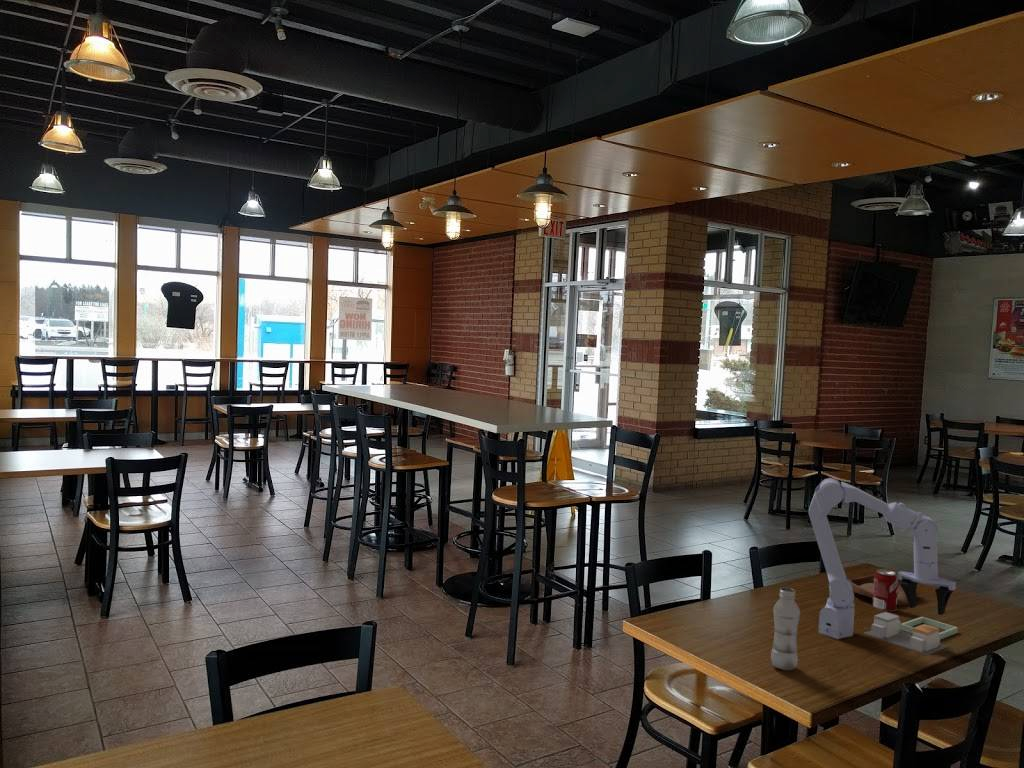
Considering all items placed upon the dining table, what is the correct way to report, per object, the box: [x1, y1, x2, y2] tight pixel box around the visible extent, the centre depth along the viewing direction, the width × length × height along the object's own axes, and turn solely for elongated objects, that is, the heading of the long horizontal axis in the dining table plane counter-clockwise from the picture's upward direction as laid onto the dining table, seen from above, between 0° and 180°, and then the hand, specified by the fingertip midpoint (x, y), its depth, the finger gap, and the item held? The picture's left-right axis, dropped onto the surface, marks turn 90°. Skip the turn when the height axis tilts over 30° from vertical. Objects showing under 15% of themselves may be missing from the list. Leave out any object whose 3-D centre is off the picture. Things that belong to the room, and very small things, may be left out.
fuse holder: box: [863, 620, 949, 656], centre depth 210 cm, size 11×18×4 cm, turn 35°
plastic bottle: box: [770, 587, 801, 671], centre depth 190 cm, size 6×7×20 cm
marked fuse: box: [912, 623, 940, 651], centre depth 206 cm, size 6×4×5 cm, turn 125°
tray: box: [900, 616, 959, 640], centre depth 218 cm, size 12×10×2 cm
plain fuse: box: [873, 611, 900, 637], centre depth 215 cm, size 6×4×5 cm, turn 125°
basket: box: [848, 573, 918, 606], centre depth 251 cm, size 22×20×5 cm
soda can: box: [872, 569, 898, 613], centre depth 238 cm, size 7×7×12 cm
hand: (926, 610), depth 206 cm, fingers open, 7 cm apart
